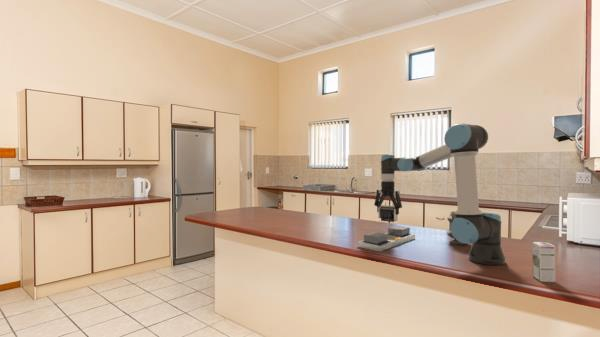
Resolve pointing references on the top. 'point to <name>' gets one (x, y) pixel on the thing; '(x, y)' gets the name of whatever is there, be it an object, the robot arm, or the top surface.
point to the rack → (386, 238)
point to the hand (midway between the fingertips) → (387, 219)
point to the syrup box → (544, 261)
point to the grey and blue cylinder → (450, 219)
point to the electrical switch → (387, 213)
